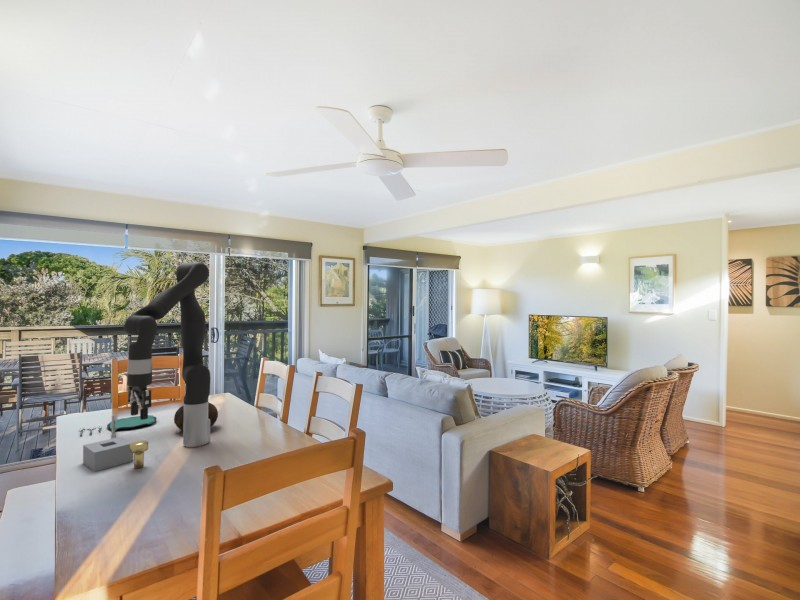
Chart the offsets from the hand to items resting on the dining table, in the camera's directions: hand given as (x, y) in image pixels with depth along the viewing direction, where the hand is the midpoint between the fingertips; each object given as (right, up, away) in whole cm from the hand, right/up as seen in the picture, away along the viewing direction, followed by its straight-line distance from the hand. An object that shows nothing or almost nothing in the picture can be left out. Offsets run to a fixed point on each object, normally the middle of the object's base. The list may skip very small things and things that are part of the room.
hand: (139, 417), depth 145 cm
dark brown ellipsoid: (-1, -18, +42) cm, 46 cm away
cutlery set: (-39, -19, +47) cm, 64 cm away
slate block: (-14, -18, +4) cm, 23 cm away
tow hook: (-26, -18, +20) cm, 38 cm away
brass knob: (0, -18, 0) cm, 18 cm away
